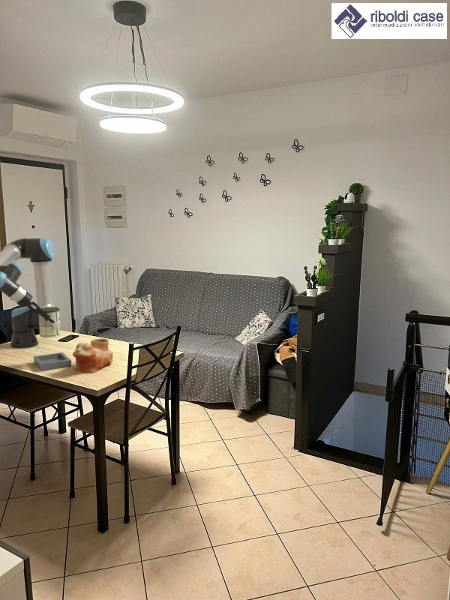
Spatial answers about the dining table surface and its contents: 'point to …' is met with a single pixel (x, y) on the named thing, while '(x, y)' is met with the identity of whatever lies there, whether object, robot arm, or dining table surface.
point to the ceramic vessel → (92, 356)
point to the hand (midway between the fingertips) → (55, 324)
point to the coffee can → (47, 328)
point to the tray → (52, 361)
